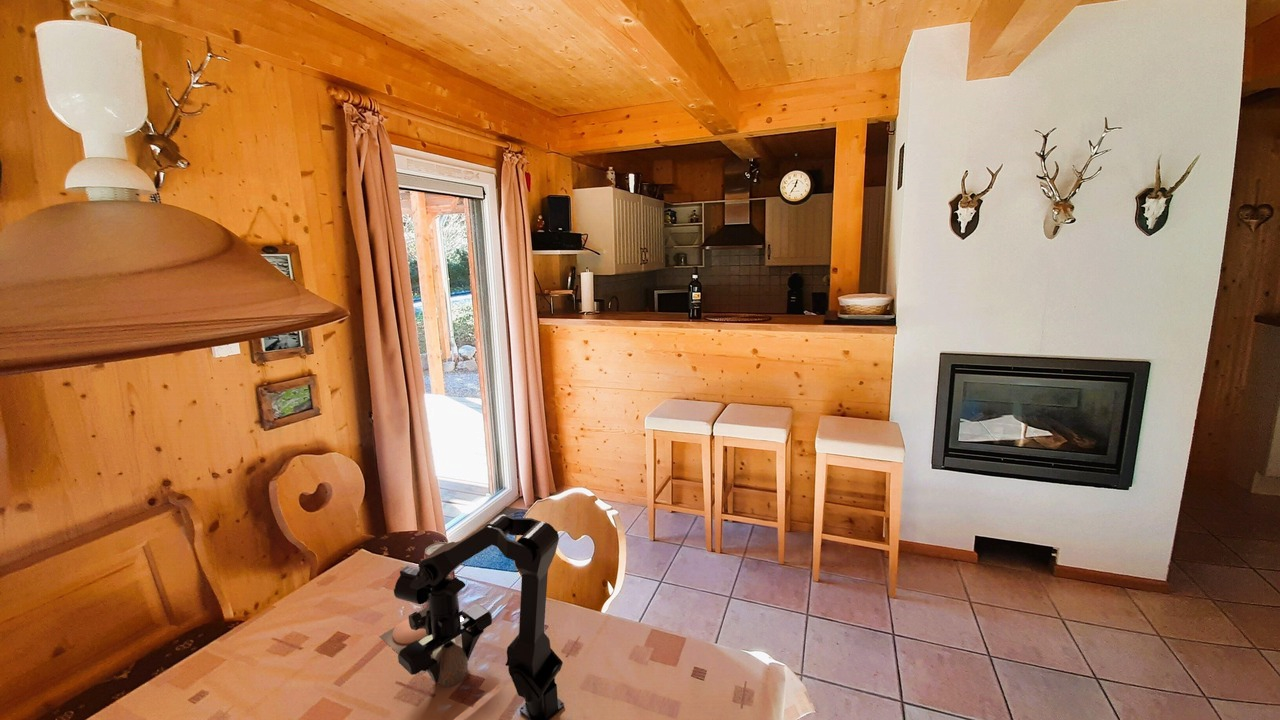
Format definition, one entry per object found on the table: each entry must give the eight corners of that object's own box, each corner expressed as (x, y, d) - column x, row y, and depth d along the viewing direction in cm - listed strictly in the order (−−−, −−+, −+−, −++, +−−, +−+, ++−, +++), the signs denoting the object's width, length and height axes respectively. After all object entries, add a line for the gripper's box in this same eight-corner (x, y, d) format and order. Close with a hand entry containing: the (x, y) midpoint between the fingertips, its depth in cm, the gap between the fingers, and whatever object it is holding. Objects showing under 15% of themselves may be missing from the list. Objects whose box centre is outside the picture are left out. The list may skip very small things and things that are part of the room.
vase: (427, 688, 110) (423, 652, 108) (448, 664, 116) (444, 630, 114) (455, 696, 108) (451, 659, 106) (475, 670, 114) (472, 636, 112)
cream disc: (463, 645, 120) (463, 643, 120) (426, 670, 113) (426, 667, 113) (442, 629, 126) (441, 626, 125) (405, 651, 119) (405, 649, 119)
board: (469, 646, 121) (469, 642, 121) (421, 679, 112) (420, 675, 112) (426, 612, 133) (426, 609, 133) (379, 639, 124) (379, 636, 124)
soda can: (447, 601, 137) (442, 557, 134) (422, 598, 138) (417, 554, 136) (461, 585, 144) (456, 542, 141) (437, 582, 145) (433, 540, 142)
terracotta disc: (440, 627, 126) (440, 625, 126) (404, 650, 119) (404, 647, 119) (421, 612, 131) (421, 610, 131) (385, 632, 125) (385, 630, 124)
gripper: (461, 570, 120) (467, 629, 123) (380, 615, 106) (389, 680, 109) (490, 589, 113) (496, 651, 116) (408, 639, 99) (417, 708, 102)
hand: (451, 670), depth 111 cm, fingers closed on vase, 7 cm apart
